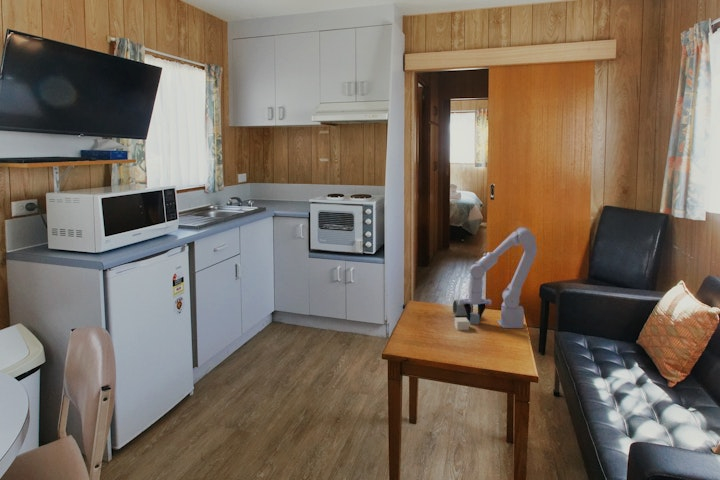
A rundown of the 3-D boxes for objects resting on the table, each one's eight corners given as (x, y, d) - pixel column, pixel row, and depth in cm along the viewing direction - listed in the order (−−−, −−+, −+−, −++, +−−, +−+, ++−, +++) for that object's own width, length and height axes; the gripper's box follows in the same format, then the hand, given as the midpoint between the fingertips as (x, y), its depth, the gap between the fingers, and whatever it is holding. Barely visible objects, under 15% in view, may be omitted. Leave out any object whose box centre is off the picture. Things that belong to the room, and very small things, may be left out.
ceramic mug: (473, 318, 235) (474, 302, 234) (456, 318, 234) (457, 302, 233) (466, 310, 245) (467, 295, 244) (450, 311, 245) (450, 295, 243)
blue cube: (476, 321, 231) (477, 312, 231) (479, 324, 227) (479, 315, 227) (467, 321, 231) (468, 312, 230) (470, 324, 227) (470, 315, 226)
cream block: (465, 325, 226) (465, 317, 225) (468, 330, 221) (469, 321, 220) (454, 326, 225) (454, 317, 225) (457, 330, 221) (457, 321, 220)
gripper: (488, 288, 231) (487, 316, 233) (457, 288, 230) (455, 316, 233) (493, 292, 224) (491, 322, 226) (461, 292, 223) (459, 322, 226)
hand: (473, 319), depth 229 cm, fingers closed on blue cube, 4 cm apart
